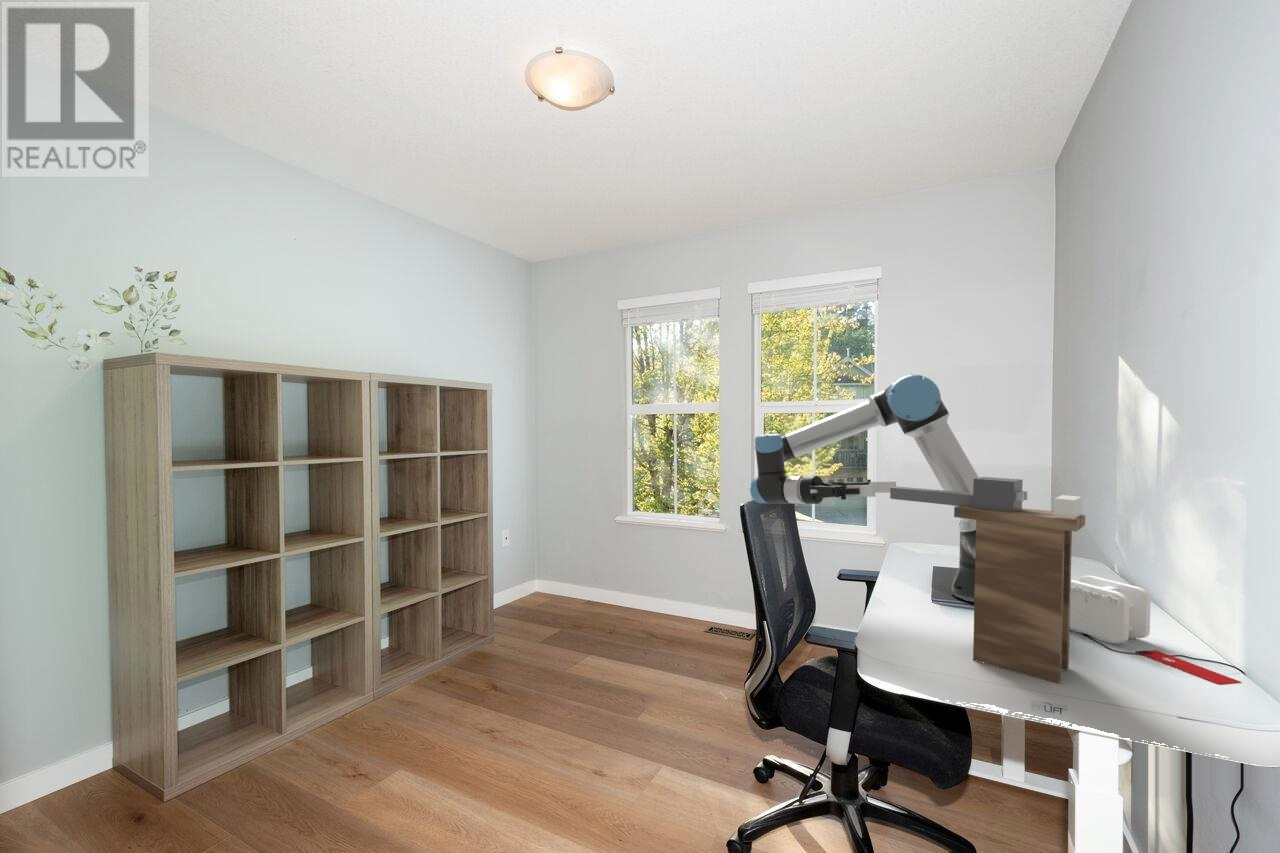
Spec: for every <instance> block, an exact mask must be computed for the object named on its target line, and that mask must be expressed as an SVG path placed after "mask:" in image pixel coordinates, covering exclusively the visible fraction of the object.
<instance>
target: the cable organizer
mask: <svg viewBox="0 0 1280 853" xmlns="http://www.w3.org/2000/svg"><path fill="white" fill-rule="evenodd" d="M1151 600H1152V598H1151V595H1150V593H1149V592H1148V591H1147V590H1145V589H1144V588H1142V587H1139V586H1135V585H1132V584H1127V583H1124V582H1119V581H1116V580H1111V579H1106V578H1103V577H1100V576H1095V575H1083V576H1081V577H1080V578H1079V580H1074V579H1071V592H1070V631H1072V632H1075V633H1079V634H1081V633H1082V634H1085V635H1088V636H1091V637H1094V639H1095V640H1099V641H1101V642H1104V643H1107V644H1123V643H1126V642H1128V641H1129V639H1131V640H1135V639H1142V638H1143V639H1144V638H1147V637H1149V635H1150V634H1151V603H1152V602H1151Z"/></svg>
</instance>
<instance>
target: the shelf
mask: <svg viewBox="0 0 1280 853" xmlns="http://www.w3.org/2000/svg"><path fill="white" fill-rule="evenodd" d="M953 510H954V511H953V518H956V519H957V518H958V519H960V518H966V519H974V520H976V550H975V596H974V603H973V604H974V606H973V609H974V610H973V643H972V644H973V645H972V646H973V647H972V648H973V649H972V652H973V653H972V660H973V661H975V660H977V661H976V662H979V661H980V662H979V663H982V662H984V663H983V664H986V663H987V665H990V664H991V666H993V665H994V667H997V666H998V668H1001V669H1004V670H1009V671H1012V672H1016V673H1019V674H1024V675H1027V676H1030V677H1034V678H1038V679H1042V680H1045V681H1048V682H1052V683H1056V684H1060V683H1061V681H1062V672H1063V671H1068V670H1067V669H1069V668H1070V667H1069V666H1070V631H1071V630H1070V592H1071V580H1072V544H1073V543H1072V542H1073V538H1072V536H1073V532H1079V531H1080V530H1081V529H1082V528H1083V527H1085V526H1086V514H1084V513H1081V515H1080V516H1079V517H1077V518H1076V519H1065V518H1056V517H1054V510H1052V511H1051V510H1040V509H1032V508H1031V509H1030V508H1023V507H1022V509H1021V510H1019V511H1016V512H1014V513H1011V512H1002V511H993V510H983V509H974V508H973V507H964V506H957V507H953ZM1063 669H1064V670H1063Z"/></svg>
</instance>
